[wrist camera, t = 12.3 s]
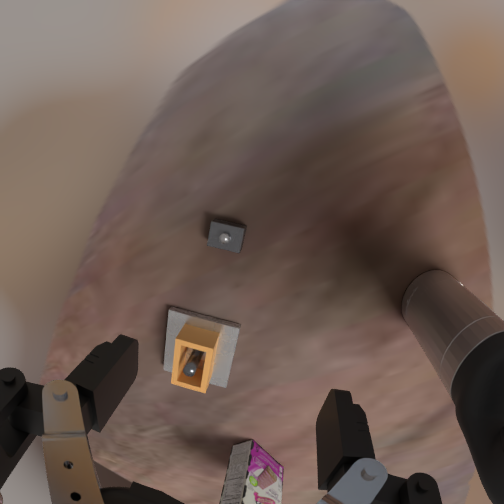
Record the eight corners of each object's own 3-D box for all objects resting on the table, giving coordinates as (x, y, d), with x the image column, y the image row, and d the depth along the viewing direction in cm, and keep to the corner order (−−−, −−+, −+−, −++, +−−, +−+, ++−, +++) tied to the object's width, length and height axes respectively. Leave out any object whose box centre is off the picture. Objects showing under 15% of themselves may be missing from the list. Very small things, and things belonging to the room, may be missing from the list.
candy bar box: (285, 466, 51) (280, 535, 35) (264, 472, 52) (255, 538, 36) (253, 437, 49) (241, 512, 33) (231, 444, 50) (214, 515, 35)
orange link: (219, 333, 42) (213, 348, 38) (211, 376, 44) (205, 393, 41) (184, 323, 42) (175, 338, 38) (179, 367, 45) (171, 383, 41)
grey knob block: (246, 225, 39) (243, 230, 36) (241, 248, 40) (238, 255, 37) (215, 218, 39) (209, 222, 36) (210, 241, 40) (205, 247, 37)
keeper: (241, 324, 43) (233, 349, 37) (227, 383, 46) (219, 409, 40) (171, 306, 43) (155, 327, 37) (166, 365, 46) (152, 389, 40)
